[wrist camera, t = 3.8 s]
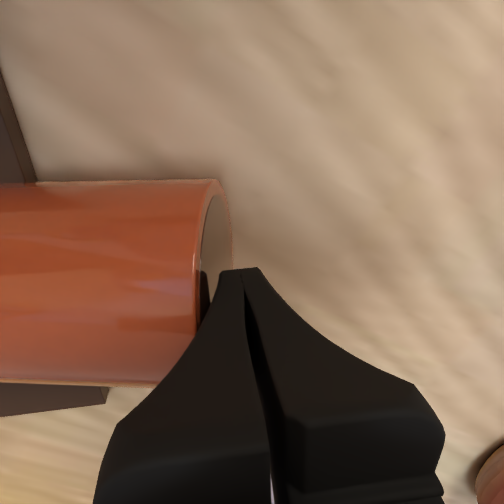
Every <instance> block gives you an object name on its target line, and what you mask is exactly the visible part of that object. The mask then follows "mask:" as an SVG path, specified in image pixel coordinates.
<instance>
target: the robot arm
mask: <svg viewBox="0 0 504 504" xmlns="http://www.w3.org/2000/svg"><path fill="white" fill-rule="evenodd" d="M444 442H445V431H444V428H443V425H442V424H441V422H440V420H439V419H438V417H437V416H436V414H435V412H434V411H433V409H432V408H431V406H430V405H429V403H428V402H427V401H426V399H425V398H424V397H423V396H422V394H421V393H420V392H419V391H418V389H417V388H416V387H415V385H414V384H412V383H410V382H408V381H405V380H403V379H401V378H398V377H396V376H394V375H391V374H389V373H387V372H384V371H382V370H380V369H378V368H376V367H374V366H372V365H370V364H368V363H366V362H364V361H362V360H361V359H359V358H357V357H355V356H353V355H352V354H350V353H348V352H347V351H345V350H344V349H342V348H340V347H339V346H337V345H336V344H334V343H333V342H331V341H330V340H328V339H327V338H325V337H324V336H323V335H321V334H320V333H319V332H318V331H316V330H315V329H314V328H313V327H311V326H310V325H309V324H308V323H307V322H306V321H304V320H303V319H302V318H301V317H300V316H299V315H298V314H297V313H296V312H295V311H294V310H293V309H292V308H291V307H290V306H289V305H288V304H287V303H286V302H285V301H284V300H283V299H282V297H281V296H280V295H279V294H278V293H277V292H276V291H275V289H274V288H273V287H272V286H271V284H270V283H269V282H268V280H267V279H266V278H265V276H264V275H263V273H262V272H261V270H260V269H259V268H257V267H254V268H244V269H234V270H224V271H221V272H220V274H219V279H218V284H217V288H216V291H215V294H214V297H213V299H212V302H211V304H210V307H209V309H208V311H207V313H206V315H205V317H204V319H203V321H202V323H201V325H200V327H199V329H198V331H197V333H196V334H195V336H194V338H193V340H192V341H191V343H190V344H189V346H188V347H187V349H186V350H185V352H184V353H183V355H182V356H181V357H180V359H179V360H178V361H177V363H176V364H175V365H174V367H173V368H172V369H171V370H170V372H169V373H168V374H167V375H166V376H165V377H164V379H163V380H162V381H161V382H160V383H159V384H158V385H157V386H156V387H155V388H154V390H153V391H152V392H151V393H150V394H149V395H148V396H147V397H146V398H145V399H144V400H143V401H142V402H141V403H140V404H139V405H138V406H137V407H135V408H134V409H133V410H132V411H131V412H130V413H129V414H128V415H127V416H126V417H125V418H123V419H122V420H121V421H120V422H119V423H118V424H117V425H116V427H115V429H114V432H113V434H112V436H111V439H110V441H109V444H108V447H107V449H106V452H105V455H104V458H103V461H102V464H101V467H100V471H99V476H98V480H97V485H96V490H95V494H94V499H93V504H445V503H444V501H443V499H442V497H441V496H443V494H444V490H443V487H442V485H441V483H440V481H439V479H438V477H437V475H436V474H435V469H436V466H437V464H438V461H439V458H440V455H441V452H442V449H443V446H444Z"/></svg>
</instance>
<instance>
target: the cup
mask: <svg viewBox="0 0 504 504" xmlns="http://www.w3.org/2000/svg"><path fill="white" fill-rule="evenodd" d="M224 270H233V247H232V233H231V223H230V216H229V209H228V204H227V200H226V196H225V193H224V190H223V188H222V186H221V184H220V182H219V181H218V180H216V179H169V180H110V181H52V182H2V183H0V383H15V384H44V385H73V386H101V387H130V388H155V387H156V386H157V385H158V384H159V383H160V382H161V381H162V380H163V379H164V377H165V376H166V375H167V374H168V373H169V372H170V370H171V369H172V368H173V367H174V365H175V364H176V363H177V361H178V360H179V359H180V357H181V356H182V355H183V353H184V352H185V350H186V349H187V347H188V346H189V344H190V343H191V341H192V340H193V338H194V336H195V334H196V333H197V331H198V329H199V327H200V325H201V323H202V321H203V319H204V317H205V315H206V313H207V311H208V309H209V307H210V304H211V302H212V299H213V297H214V294H215V291H216V288H217V284H218V279H219V274H220V272H221V271H224Z"/></svg>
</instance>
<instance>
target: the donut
mask: <svg viewBox="0 0 504 504" xmlns="http://www.w3.org/2000/svg"><path fill="white" fill-rule="evenodd" d="M475 492H476V495H477V501H478V504H504V445H502V446H501V447H500V448H499V449H497V450H496V451H495V452H494V453H493V454H492V455H491V456H490V457H489V458H488V459H487V461H486V462H485V463H484V465H483V466H482V468H481V469H480V471H479V473H478V475H477V478H476V482H475Z"/></svg>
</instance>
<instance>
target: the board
mask: <svg viewBox="0 0 504 504" xmlns="http://www.w3.org/2000/svg"><path fill="white" fill-rule="evenodd" d="M2 182H38V181H37V178H36V175H35V172H34V169H33V166H32V163H31V160H30V157H29V155H28V152H27V149H26V146H25V143H24V140H23V137H22V134H21V131H20V128H19V125H18V122H17V119H16V117H15V114H14V111H13V108H12V105H11V102H10V99H9V96H8V93H7V90H6V87H5V84H4V81H3V79H2V76H1V73H0V183H2ZM108 391H109V388H108V387H101V386H73V385H44V384H15V383H0V417H5V416H13V415H21V414H29V413H37V412H44V411H52V410H60V409H68V408H76V407H84V406H92V405H100V404H105V403H106V399H107V395H108Z"/></svg>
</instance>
